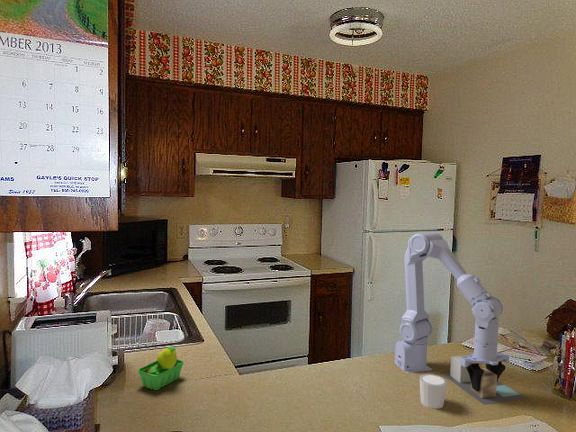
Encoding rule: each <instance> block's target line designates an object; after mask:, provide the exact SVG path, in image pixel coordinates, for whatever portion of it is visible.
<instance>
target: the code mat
mask: <svg viewBox="0 0 576 432" xmlns="http://www.w3.org/2000/svg"><path fill="white" fill-rule="evenodd" d="M441 375H442V376H444V377H445V378H446V379H448V380H449V381H451V382H452V383H453V384H455V385H456V386H458V387H459V388H461V390H463V391H464V392H466V393H467V394H469V395H470V396H471V397H473V398H474V399H476V401H479V402H480V403H481V404H483V405H484V406H486V405H492V404H501V403H507V402H514V401H521V400H527V399H528V398H527V397H525V396H524V395H522V394H521V393H519V392H517V391H516V390H514V389H512V388H510V387H509V386H507V385H506V384H504V383H503V382H501V381H499V380H498V381H497V387H496V396H494V397H487V398H481V397H480V396H478V395H477V394H476V393H474V392H473V391H471V382H463V383H460V382H458V381H457V380H455V379H454V378H453V377H451V376H450V372H448V373H447V372H446V373H441Z"/></svg>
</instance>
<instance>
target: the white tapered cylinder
mask: <svg viewBox="0 0 576 432" xmlns="http://www.w3.org/2000/svg"><path fill="white" fill-rule="evenodd" d="M447 384H448V381H447V379H445V378H444V377H442V376H440V375H438V374H433V373H425V374H424V373H423V374H422V375H421V374H420V376H419V393H420V395H419V396H420V405H421V404H422V405H423V406H425V407H426V408H430V409H434V410H435V409H436V410H437V409H442V408H443V407H444V405H445V397H446V393H447ZM422 405H421V406H422ZM423 406H422V407H423Z"/></svg>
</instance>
